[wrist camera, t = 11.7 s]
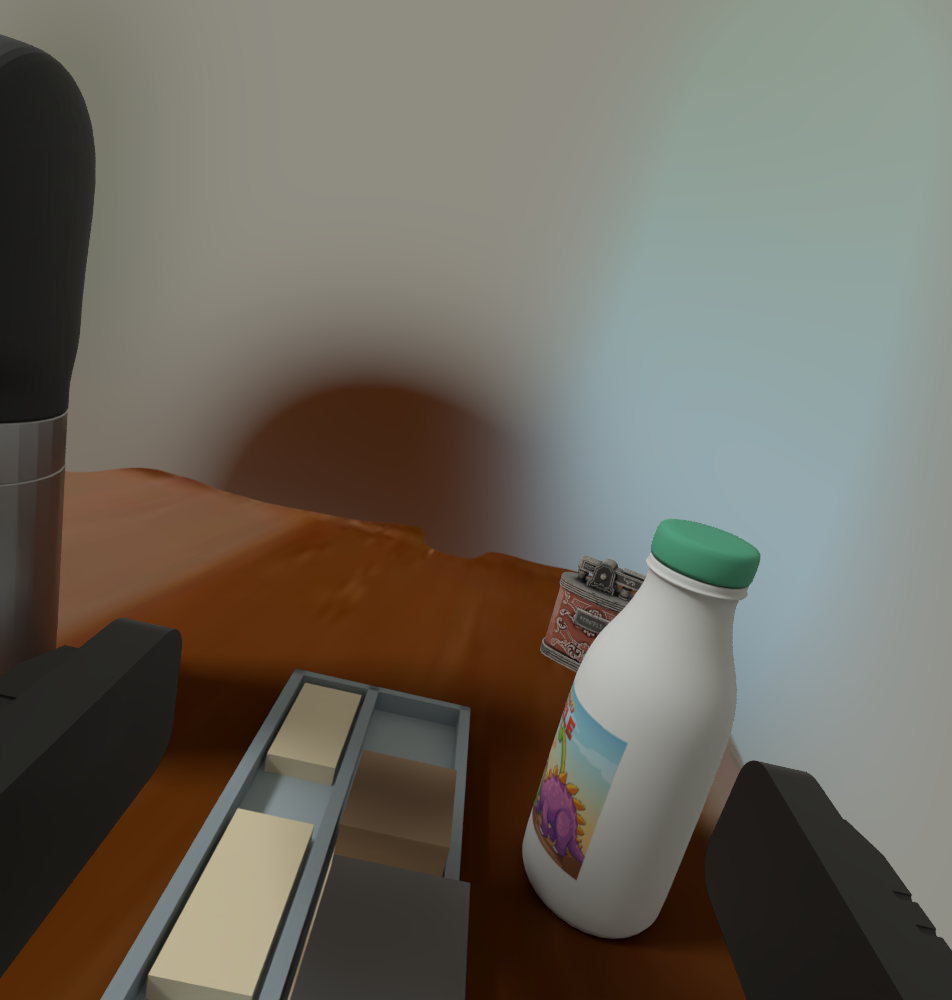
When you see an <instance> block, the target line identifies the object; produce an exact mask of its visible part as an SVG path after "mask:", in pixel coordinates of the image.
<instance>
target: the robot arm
mask: <svg viewBox="0 0 952 1000" xmlns="http://www.w3.org/2000/svg"><path fill="white" fill-rule="evenodd" d="M94 193H95V146H94V138H93V130H92V125H91V120H90V117H89V113H88V110H87V107H86V104H85V101H84V98H83V96H82V94H81V92H80V90H79V88H78V86H77V84H76V82H75V81H74V79H73V77H72V76H71V75H70V74H69V72H68V71H67V70H66V69H65V68H64V67H63V65H62V64H61V63H60V62H58V61H57V60H56V59H54V58H53V57H52V56H51V55H49V54H48V53H46V52H44V51H43V50H41V49H38V48H36V47H34V46H32V45H29V44H27V43H24V42H21V41H18V40H15V39H12V38H9V37H7V36H3V35H0V978H1V977H2V975H3V974H4V973H5V971H6V970H7V969H8V967H9V966H10V965H11V963H12V962H13V961H14V959H15V958H16V957H17V955H18V954H19V952H20V951H21V950H22V948H23V947H24V946H25V944H26V943H27V942H28V940H29V939H30V938H31V936H32V935H33V934H34V932H35V931H36V930H37V928H38V927H39V926H40V924H41V923H42V922H43V920H44V919H45V918H46V916H47V915H48V914H49V912H50V911H51V910H52V908H53V907H54V906H55V904H56V903H57V902H58V900H59V899H60V898H61V896H62V895H63V894H64V892H65V891H66V890H67V888H68V887H69V886H70V884H71V883H72V882H73V880H74V879H75V878H76V876H77V875H78V874H79V872H80V871H81V870H82V868H83V867H84V866H85V864H86V863H87V862H88V860H89V859H90V858H91V856H92V855H93V854H94V852H95V851H96V850H97V848H98V847H99V846H100V844H101V843H102V842H103V840H104V839H105V838H106V836H107V835H108V834H109V832H110V831H111V829H112V828H113V827H114V825H115V824H116V823H117V821H118V820H119V819H120V817H121V816H122V815H123V813H124V812H125V811H126V809H127V808H128V807H129V805H130V804H131V803H132V801H133V800H134V799H135V797H136V796H137V795H138V793H139V792H140V791H141V789H142V788H143V787H144V785H145V784H146V783H147V781H148V780H149V779H150V777H151V776H152V775H153V773H154V772H155V770H156V769H157V767H158V765H159V763H160V761H161V760H162V757H163V755H164V753H165V751H166V748H167V746H168V743H169V740H170V737H171V733H172V729H173V723H174V715H175V705H176V696H177V687H178V677H179V668H180V659H181V649H182V637H181V634H180V632H179V631H178V630H176V629H172V628H167V627H163V626H158V625H154V624H149V623H145V622H140V621H136V620H131V619H127V618H118V619H116V620H114V621H113V622H111V623H110V624H109V625H108V626H106V627H105V628H104V629H103V630H101V631H100V632H99V633H98V634H96V635H95V636H94V637H93V638H91V639H90V640H89V641H88V642H86V643H85V644H84V645H83V646H81V647H80V648H75V647H70V646H66V645H64V646H62V647H59V648H57V649H56V640H57V627H58V606H59V585H60V565H61V544H62V523H63V502H64V481H65V454H66V434H67V413H68V402H69V387H70V380H71V375H72V370H73V366H74V362H75V358H76V353H77V349H78V343H79V335H80V325H81V311H82V299H83V289H84V280H85V271H86V263H87V255H88V247H89V239H90V231H91V223H92V215H93V205H94ZM705 881H706V887H707V892H708V895H709V898H710V901H711V903H712V906H713V909H714V912H715V914H716V917H717V920H718V922H719V925H720V928H721V931H722V933H723V936H724V939H725V942H726V944H727V947H728V950H729V953H730V955H731V958H732V961H733V963H734V966H735V969H736V972H737V974H738V977H739V980H740V983H741V985H742V988H743V991H744V994H745V996H746V999H747V1000H952V950H951V949H950V948H949V946H948V945H947V943H946V942H945V941H944V939H943V938H941V937H937V936H936V932H935V931H936V928H935V927H934V925H933V924H932V923H931V921H930V920H929V918H928V917H927V916H926V914H925V913H924V911H923V910H922V909H921V908H920V906H919V904H918V903H916V902H912V900H911V893H910V892H909V890H908V889H907V888H906V886H905V885H904V883H903V882H902V881H901V879H900V878H899V876H898V875H897V874H896V872H895V871H894V870H893V868H892V867H891V866H890V864H889V863H888V861H887V860H886V858H885V857H884V856H883V855H882V854H881V853H880V852H879V851H878V850H877V849H876V848H875V847H874V846H873V845H872V844H871V843H870V842H869V841H868V840H866V839H865V838H864V837H863V836H862V835H861V834H860V833H859V832H858V831H857V830H856V829H855V828H854V827H853V826H852V825H850V823H848V822H847V821H846V820H844V819H842V817H841V815H840V814H839V812H838V811H837V810H836V808H835V807H834V805H833V804H832V802H831V801H830V800H829V798H828V796H827V795H826V794H825V792H824V791H823V789H822V788H821V787H820V785H819V784H818V782H817V781H816V779H815V778H814V777H813V776H812V775H810V774H809V773H807V772H803V771H799V770H794V769H790V768H786V767H781V766H776V765H772V764H768V763H763V762H758V761H750V762H748V763H746V764H745V765H744V766H743V768H742V769H741V771H740V773H739V775H738V777H737V779H736V781H735V784H734V786H733V788H732V790H731V793H730V795H729V797H728V800H727V802H726V804H725V806H724V809H723V811H722V813H721V815H720V818H719V820H718V822H717V824H716V827H715V829H714V831H713V834H712V836H711V838H710V840H709V843H708V846H707V850H706V856H705Z"/></svg>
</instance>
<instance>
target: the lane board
mask: <svg viewBox="0 0 952 1000" xmlns="http://www.w3.org/2000/svg"><path fill="white" fill-rule="evenodd" d="M470 709H471V708H470V707H466V706H461V705H457V704H452V703H448V702H443V701H439V700H434V699H430V698H425V697H421V696H416V695H412V694H407V693H403V692H399V691H394V690H390V689H385V688H381V687H376V686H372V685H367V684H363V683H358V682H354V681H349V680H345V679H340V678H336V677H331V676H327V675H322V674H318V673H313V672H309V671H304V670H300V669H295V670H294V672H293V674H292V675H291V677H290V679H289V680H288V682H287V684H286V686H285V687H284V689H283V691H282V692H281V694H280V696H279V697H278V699H277V701H276V703H275V704H274V706H273V708H272V709H271V711H270V713H269V714H268V716H267V718H266V720H265V721H264V723H263V725H262V726H261V728H260V730H259V731H258V733H257V735H256V737H255V738H254V740H253V742H252V743H251V745H250V747H249V748H248V750H247V752H246V754H245V755H244V757H243V759H242V760H241V762H240V764H239V765H238V767H237V769H236V771H235V772H234V774H233V776H232V777H231V779H230V781H229V782H228V784H227V786H226V788H225V789H224V791H223V793H222V794H221V796H220V798H219V799H218V801H217V803H216V805H215V806H214V808H213V810H212V811H211V813H210V815H209V816H208V818H207V820H206V822H205V823H204V825H203V827H202V828H201V830H200V832H199V833H198V835H197V837H196V839H195V840H194V842H193V844H192V845H191V847H190V849H189V850H188V852H187V854H186V855H185V857H184V859H183V861H182V862H181V864H180V866H179V867H178V869H177V871H176V872H175V874H174V876H173V878H172V879H171V881H170V883H169V884H168V886H167V888H166V889H165V891H164V893H163V895H162V896H161V898H160V900H159V901H158V903H157V905H156V906H155V908H154V910H153V912H152V913H151V915H150V917H149V918H148V920H147V922H146V923H145V925H144V927H143V929H142V930H141V932H140V934H139V935H138V937H137V939H136V940H135V942H134V944H133V946H132V947H131V949H130V951H129V952H128V954H127V956H126V957H125V959H124V961H123V963H122V964H121V966H120V968H119V969H118V971H117V973H116V974H115V976H114V978H113V980H112V981H111V983H110V985H109V986H108V988H107V990H106V991H105V993H104V995H103V997H102V998H101V1000H288V996H289V993H290V990H291V987H292V984H293V980H294V977H295V974H296V971H297V967H298V964H299V961H300V958H301V955H302V951H303V948H304V945H305V942H306V938H307V935H308V932H309V929H310V926H311V922H312V919H313V916H314V913H315V909H316V906H317V903H318V900H319V896H320V893H321V890H322V887H323V884H324V880H325V877H326V874H327V871H328V867H329V864H330V861H331V858H332V855H333V851H334V848H335V845H336V840H337V836H338V831H339V826H340V822H341V819H342V816H343V813H344V810H345V807H346V803H347V800H348V797H349V794H350V791H351V787H352V784H353V781H354V778H355V775H356V772H357V768H358V765H359V762H360V759H361V756H362V752H363V750H367V751H372V752H377V753H381V754H386V755H390V756H395V757H399V758H404V759H408V760H413V761H418V762H422V763H427V764H431V765H436V766H440V767H445V768H450V769H454V770H457V775H456V786H455V798H454V809H453V820H452V832H451V843H450V850H449V854H448V857H447V861H446V865H445V868H444V872H443V875H442V877H444V878H449V879H454V880H458V881H459V875H460V860H461V845H462V830H463V814H464V799H465V784H466V769H467V754H468V739H469V724H470Z"/></svg>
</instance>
